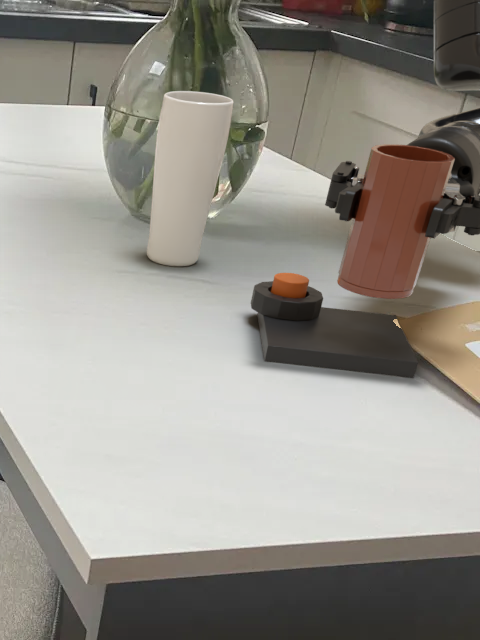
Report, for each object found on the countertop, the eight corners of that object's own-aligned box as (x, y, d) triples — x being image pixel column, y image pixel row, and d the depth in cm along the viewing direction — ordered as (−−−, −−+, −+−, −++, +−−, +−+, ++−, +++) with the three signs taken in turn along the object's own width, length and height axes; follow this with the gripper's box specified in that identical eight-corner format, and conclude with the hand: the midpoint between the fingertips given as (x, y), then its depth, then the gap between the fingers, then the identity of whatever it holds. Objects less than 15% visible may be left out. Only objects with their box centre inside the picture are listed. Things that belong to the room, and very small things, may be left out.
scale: (389, 327, 97) (399, 293, 95) (413, 379, 87) (425, 342, 85) (246, 311, 98) (253, 278, 96) (252, 360, 88) (260, 324, 86)
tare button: (303, 292, 95) (307, 274, 94) (306, 302, 93) (310, 284, 92) (269, 288, 95) (273, 270, 94) (271, 299, 93) (275, 280, 92)
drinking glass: (135, 249, 113) (159, 88, 104) (199, 253, 113) (228, 93, 104) (142, 268, 107) (167, 100, 98) (209, 272, 107) (240, 105, 98)
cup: (406, 280, 89) (446, 148, 83) (418, 302, 84) (461, 165, 78) (333, 272, 90) (367, 141, 83) (341, 294, 85) (377, 157, 79)
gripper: (367, 117, 94) (310, 145, 82) (539, 144, 88) (505, 179, 77) (343, 207, 98) (286, 247, 87) (506, 239, 93) (469, 285, 81)
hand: (389, 215), depth 82 cm, fingers closed on cup, 6 cm apart
